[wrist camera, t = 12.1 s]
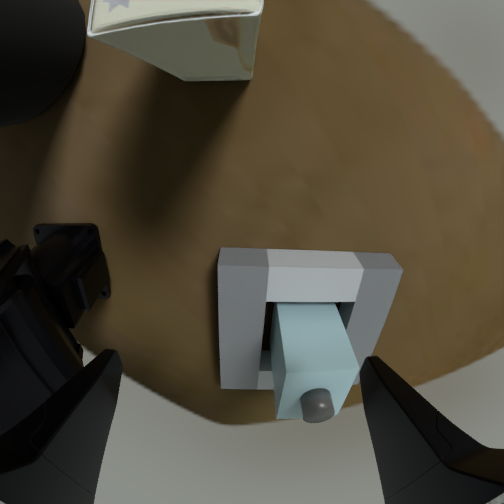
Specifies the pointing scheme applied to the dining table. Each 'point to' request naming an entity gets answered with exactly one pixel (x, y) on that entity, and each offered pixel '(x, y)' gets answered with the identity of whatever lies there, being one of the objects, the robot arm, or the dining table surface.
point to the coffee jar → (37, 54)
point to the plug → (310, 360)
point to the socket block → (297, 290)
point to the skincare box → (183, 34)
